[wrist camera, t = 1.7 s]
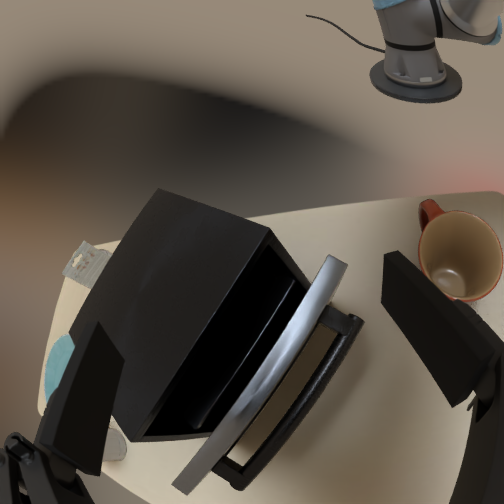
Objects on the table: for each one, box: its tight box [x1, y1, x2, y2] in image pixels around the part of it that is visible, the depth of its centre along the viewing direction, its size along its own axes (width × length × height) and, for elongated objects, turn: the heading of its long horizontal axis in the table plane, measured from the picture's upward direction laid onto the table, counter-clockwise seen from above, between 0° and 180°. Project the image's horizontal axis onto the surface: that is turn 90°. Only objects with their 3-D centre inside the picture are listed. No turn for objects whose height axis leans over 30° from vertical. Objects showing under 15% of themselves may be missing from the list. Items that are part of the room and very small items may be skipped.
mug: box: [418, 199, 503, 306], centre depth 24 cm, size 12×9×10 cm
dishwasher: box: [69, 188, 311, 442], centre depth 31 cm, size 18×22×16 cm
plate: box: [44, 334, 75, 403], centre depth 47 cm, size 22×22×3 cm
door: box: [171, 255, 365, 495], centre depth 24 cm, size 5×22×16 cm, turn 144°
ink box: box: [62, 241, 112, 289], centre depth 52 cm, size 3×9×12 cm, turn 132°
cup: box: [102, 429, 126, 462], centre depth 31 cm, size 8×8×12 cm
